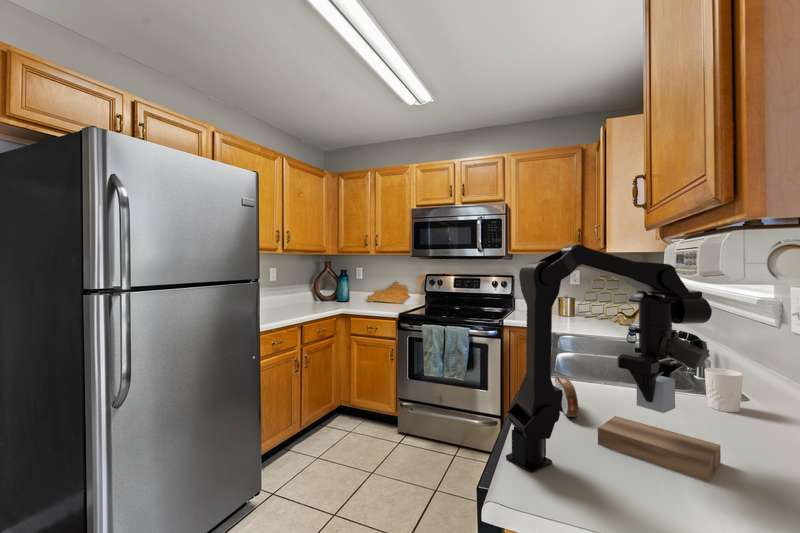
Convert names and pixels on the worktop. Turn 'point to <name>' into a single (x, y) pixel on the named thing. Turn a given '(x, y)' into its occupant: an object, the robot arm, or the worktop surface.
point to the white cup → (723, 389)
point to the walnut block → (661, 447)
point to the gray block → (660, 396)
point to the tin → (567, 396)
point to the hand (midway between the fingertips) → (655, 399)
